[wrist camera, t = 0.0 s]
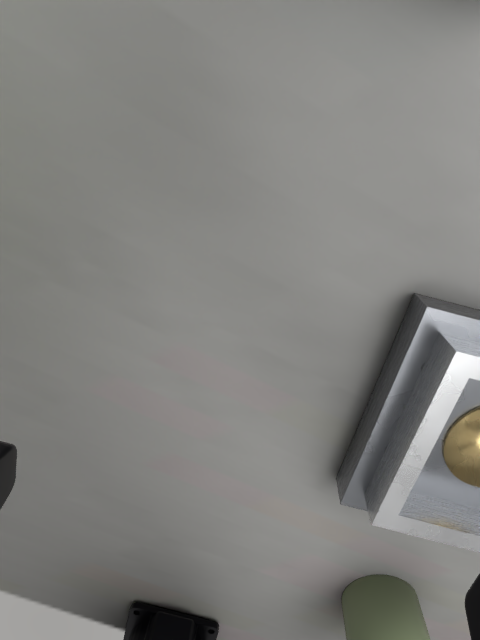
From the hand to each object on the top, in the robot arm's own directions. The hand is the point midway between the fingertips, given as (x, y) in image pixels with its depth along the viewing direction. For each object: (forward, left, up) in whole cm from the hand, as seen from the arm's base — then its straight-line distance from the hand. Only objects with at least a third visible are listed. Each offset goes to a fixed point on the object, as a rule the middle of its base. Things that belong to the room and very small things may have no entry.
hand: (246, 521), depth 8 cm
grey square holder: (-4, -13, -15) cm, 20 cm away
